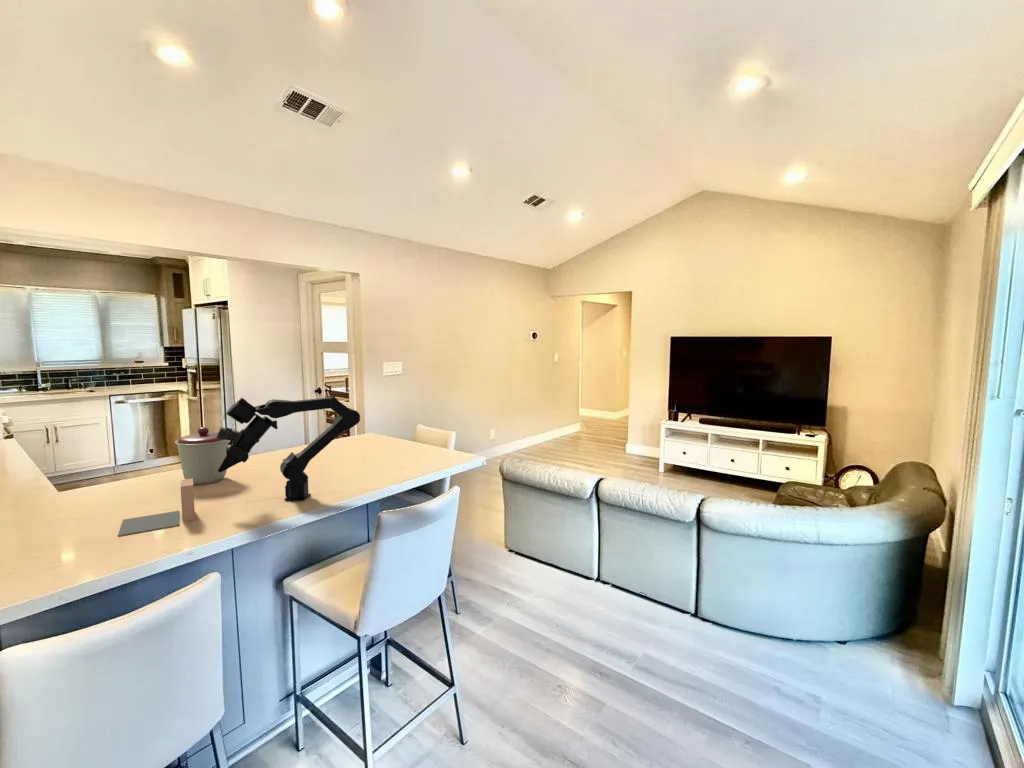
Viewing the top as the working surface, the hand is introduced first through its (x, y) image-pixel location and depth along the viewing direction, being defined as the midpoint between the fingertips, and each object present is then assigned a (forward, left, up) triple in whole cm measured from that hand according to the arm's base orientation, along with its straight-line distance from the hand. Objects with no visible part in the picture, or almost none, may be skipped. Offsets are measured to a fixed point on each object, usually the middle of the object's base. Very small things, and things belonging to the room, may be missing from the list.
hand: (219, 471), depth 151 cm
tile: (+7, +5, -13) cm, 16 cm away
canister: (+27, -31, -13) cm, 43 cm away
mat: (+14, +11, -13) cm, 22 cm away
